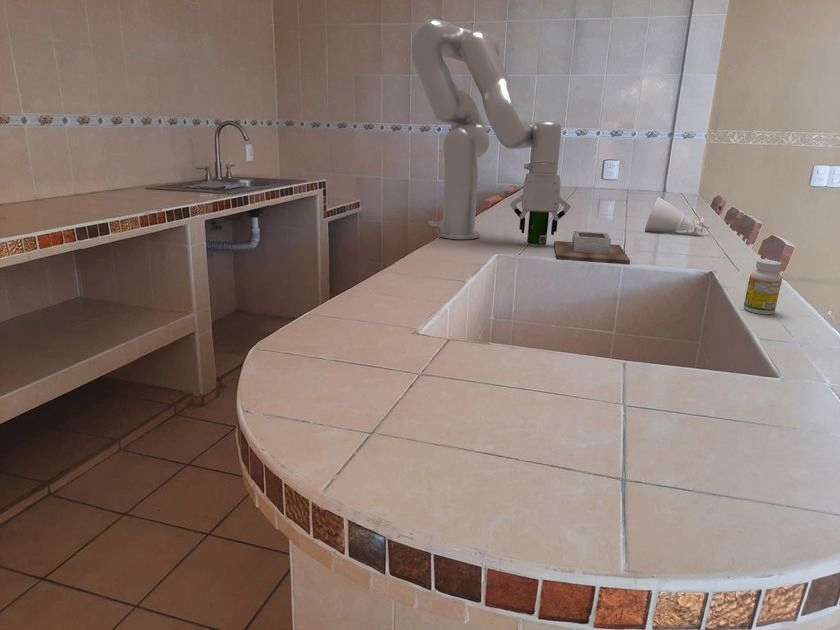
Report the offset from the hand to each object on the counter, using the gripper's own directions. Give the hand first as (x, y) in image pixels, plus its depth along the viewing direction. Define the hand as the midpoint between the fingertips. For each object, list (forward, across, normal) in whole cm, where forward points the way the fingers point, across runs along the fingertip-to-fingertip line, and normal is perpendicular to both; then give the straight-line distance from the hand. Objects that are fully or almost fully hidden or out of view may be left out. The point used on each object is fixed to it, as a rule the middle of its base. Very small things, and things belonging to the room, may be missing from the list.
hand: (537, 233), depth 168 cm
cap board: (+3, +14, -7) cm, 16 cm away
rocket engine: (+4, +44, +35) cm, 56 cm away
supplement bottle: (+4, +42, -51) cm, 66 cm away
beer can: (+4, 0, 0) cm, 4 cm away
